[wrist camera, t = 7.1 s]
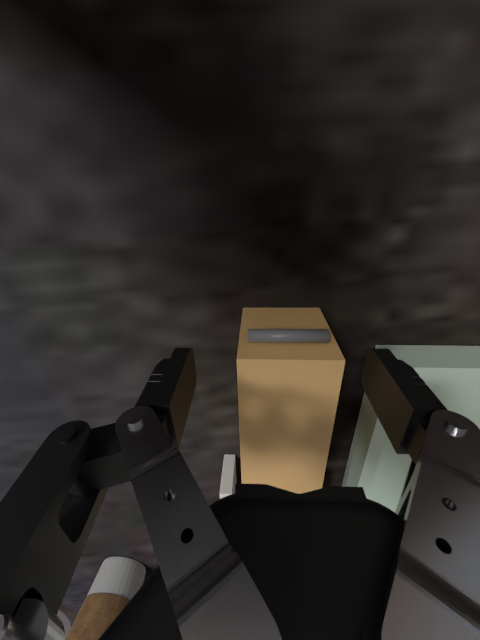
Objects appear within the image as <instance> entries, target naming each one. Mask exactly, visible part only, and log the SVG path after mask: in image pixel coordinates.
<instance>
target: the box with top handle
mask: <svg viewBox="0 0 480 640" xmlns="http://www.w3.org/2000/svg"><path fill="white" fill-rule="evenodd" d="M345 361H346V360H345V358H344V356H343V354H342V352H341V350H340V348H339V346H338V344H337V342H336V340H335V338H334V336H333V334H332V332H331V330H330V328H329V326H328V324H327V322H326V320H325V318H324V316H323V314H322V312H321V310H320V308H243V312H242V320H241V328H240V336H239V344H238V352H237V382H238V406H239V431H240V455H241V480H242V484H267V485H270V486H274V487H277V488H280V489H284V490H287V491H290V492H294V493H298V494H302V493H306V492H310V491H314V490H318V489H321V488H322V486H323V480H324V475H325V469H326V464H327V459H328V453H329V448H330V442H331V437H332V432H333V426H334V421H335V415H336V410H337V404H338V399H339V394H340V388H341V383H342V377H343V372H344V367H345Z"/></svg>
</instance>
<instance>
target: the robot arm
mask: <svg viewBox="0 0 480 640" xmlns="http://www.w3.org/2000/svg"><path fill="white" fill-rule="evenodd" d="M362 386H363V389H364V391H365V393H366V395H367V397H368V399H369V401H370V403H371V405H372V407H373V409H374V411H375V413H376V415H377V417H378V419H379V421H380V423H381V425H382V427H383V428H384V430H385V432H386V434H387V436H388V438H389V440H390V442H391V444H392V446H393V448H394V450H395V452H396V454H409V455H410V457H411V459H412V460H411V462H410V465H409V468H408V472H407V475H406V478H405V482H404V485H403V489H402V492H401V495H400V499H399V502H398V505H397V508H396V511H395V512H393V511H392V510H390V509H389V508H387V507H385V506H383V505H381V504H380V503H377V502H375V501H373V500H370V499H367V498H366V495H365V493H364V490H363V487H346V486H329V487H325V488H321V489H318V490H314V491H310V492H306V493H302V494H298V493H294V492H290V491H287V490H284V489H280V488H277V487H274V486H270V485H267V484H240V483H235V494H231V495H228V496H226V497H223V498H221V499H219V500H218V501H216V502H214V503H213V504H212V505H210V506H209V505H208V503H207V501H206V499H205V497H204V496H203V494H202V492H201V490H200V488H199V486H198V485H197V483H196V481H195V479H194V477H193V475H192V473H191V472H190V470H189V468H188V466H187V464H186V462H185V461H184V459H183V457H182V455H181V453H180V452H179V450H178V449H177V448H179V445H180V441H181V438H182V434H183V430H184V427H185V423H186V419H187V416H188V412H189V409H190V405H191V401H192V398H193V394H194V390H195V387H196V369H195V362H194V355H193V350H192V348H175V350H174V352H173V354H172V356H171V358H170V359H163V360H162V361H161V362H160V363H158V364H157V365H156V366H155V368H154V370H153V372H152V375H151V376H150V378H149V380H148V382H147V384H146V386H145V388H144V390H143V392H142V394H141V396H140V398H139V400H138V402H137V404H136V405H135V407H134V408H131V409H129V410H127V411H126V412H124V413H123V414H122V415H121V416H120V417H119V418H118V419H117V421H116V423H113V424H110V425H106V426H102V427H98V428H94V429H91V428H90V426H89V424H88V423H87V422H85V421H72V422H68V423H66V424H63V425H61V426H60V427H58V428H57V429H55V430H54V431H53V432H52V433H51V434H50V435H49V436H48V437H47V438H46V440H45V441H44V442H43V444H42V445H41V447H40V448H39V449H38V451H37V452H36V454H35V455H34V456H33V458H32V459H31V460H30V462H29V463H28V465H27V466H26V467H25V469H24V470H23V472H22V473H21V474H20V476H19V477H18V479H17V480H16V481H15V483H14V484H13V486H12V487H11V488H10V490H9V491H8V492H7V494H6V495H5V497H4V498H3V499H2V501H1V502H0V640H64V639H65V631H64V626H63V623H62V621H61V620H60V618H59V617H58V616H56V615H57V612H58V610H59V608H60V605H61V603H62V600H63V598H64V595H65V593H66V590H67V588H68V586H69V583H70V581H71V578H72V576H73V573H74V571H75V568H76V566H77V563H78V561H79V559H80V556H81V554H82V551H83V549H84V546H85V544H86V541H87V539H88V536H89V534H90V532H91V529H92V527H93V524H94V522H95V519H96V517H97V514H98V512H99V509H100V507H101V504H102V502H103V500H104V497H105V495H106V492H107V490H108V487H112V486H115V485H118V484H122V483H125V482H128V481H131V482H132V485H133V488H134V491H135V494H136V497H137V500H138V503H139V506H140V509H141V512H142V515H143V518H144V521H145V524H146V527H147V531H148V534H149V537H150V540H151V543H152V546H153V549H154V552H155V555H156V558H157V561H158V564H159V566H158V567H157V568H156V569H155V571H154V572H153V573H152V574H151V575H150V577H149V578H148V579H147V580H146V582H145V583H144V584H143V585H142V587H141V588H140V589H139V590H138V591H137V593H136V594H135V595H134V596H133V598H132V599H131V600H130V601H129V602H128V604H127V605H126V606H125V607H124V609H123V610H122V611H121V612H120V613H119V615H118V616H117V617H116V618H115V620H114V621H113V622H112V623H111V624H110V626H109V627H108V628H107V629H106V631H105V632H104V633H103V634H102V635H101V637H100V638H99V639H98V640H480V429H479V428H478V427H477V425H476V424H474V423H473V422H472V421H471V420H469V419H468V418H466V417H465V416H463V415H461V414H458V413H456V412H453V411H448V410H447V409H446V407H445V406H444V405H443V404H442V402H441V401H440V400H439V399H438V398H437V396H436V395H435V394H434V393H433V392H432V390H431V389H430V388H429V387H428V385H426V383H425V382H424V381H423V379H422V378H420V376H419V375H418V373H417V372H416V371H415V370H414V369H413V367H411V366H410V365H408V364H407V363H405V362H404V361H402V360H397V358H396V357H395V356H394V355H393V353H392V352H391V351H390V350H389V349H369V350H368V352H367V356H366V360H365V364H364V368H363V372H362Z"/></svg>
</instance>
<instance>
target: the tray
mask: <svg viewBox="0 0 480 640" xmlns="http://www.w3.org/2000/svg"><path fill="white" fill-rule="evenodd" d="M375 349H389V350H390V351H391V352H392V353H393V355H394V356H395V357H396V358H397V360H402V361H404V362H405V363H407V364H408V365H410V366H411V367H413V369H414V370H415V371H416V372H417V373H418V375H419V376H420V378H422V379H423V381H424V382H425V383H426V385H428V387H429V388H430V389H431V390H432V392H433V393H434V394H435V395H436V396H437V398H438V399H439V400H440V401H441V402H442V404H443V405H444V406H445V407H446V409H447V410H448V411H453V412H456V413H458V414H461V415H463V416H465V417H466V418H468V419H469V420H471V421H472V422H473V423H474V424H476V425H477V427H478V428H479V429H480V346H432V345H376V346H375ZM411 460H412V459H411V457H410V455H409V454H396V452H395V450H394V448H393V446H392V444H391V442H390V440H389V438H388V436H387V434H386V432H385V430H384V428H383V427H382V425H381V423H380V421H379V419H378V417H377V415H376V413H375V411H374V409H373V407H372V405H371V403H370V401H369V399H368V397H367V395H366V393H365V392H364V396H363V400H362V404H361V408H360V412H359V416H358V421H357V425H356V429H355V433H354V437H353V441H352V445H351V449H350V454H349V458H348V462H347V466H346V470H345V474H344V478H343V482H342V486H346V487H363V490H364V493H365V495H366V498H367V499H370V500H373V501H375V502H377V503H380V504H381V505H383V506H385V507H387V508H389V509H390V510H392V511H393V512H395V511H396V508H397V505H398V502H399V499H400V495H401V492H402V489H403V485H404V482H405V478H406V475H407V472H408V468H409V465H410V462H411Z"/></svg>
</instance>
